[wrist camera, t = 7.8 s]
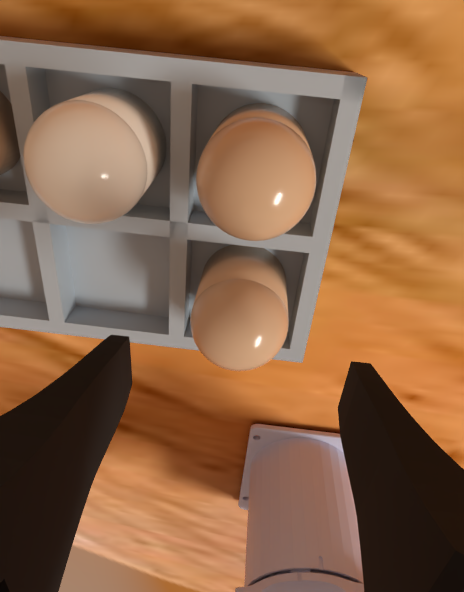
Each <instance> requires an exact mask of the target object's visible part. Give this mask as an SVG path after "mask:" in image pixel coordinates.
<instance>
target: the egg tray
mask: <svg viewBox="0 0 464 592" xmlns="http://www.w3.org/2000/svg"><path fill="white" fill-rule="evenodd" d="M366 81H367V77H365V76H362V75H360V74H358V73H356V72H347V71H337V70H327V69H318V68H308V67H298V66H289V65H279V64H269V63H259V62H250V61H240V60H230V59H220V58H211V57H201V56H191V55H181V54H172V53H162V52H152V51H142V50H133V49H123V48H113V47H103V46H94V45H84V44H74V43H65V42H55V41H45V40H35V39H26V38H16V37H6V36H0V91H1V92H2V93H3V94H4V95H5V96H6V98H7V99H8V100H9V102H10V103H11V104H12V110H13V115H14V121H15V127H16V133H17V138H18V144H19V150H20V155H21V157H20V159H19V161H18V162H17V164H16V165H15V166H14V167H13V168H12V169H11V170H9V171H8V172H6V173H4V174H2V175H0V327H6V328H15V329H23V330H32V331H40V332H48V333H57V334H65V335H74V336H82V337H90V338H99V339H106V338H107V337H108V336H110V335H120V336H129V339H130V342H132V343H141V344H149V345H158V346H166V347H175V348H183V349H191V350H199V349H198V347H197V346H196V344H195V342H194V339H193V336H192V332H191V324H190V318H191V311H192V308H193V304H194V301H195V297H196V294H197V290H198V287H199V283H200V280H201V276H202V273H203V269H204V267H205V264H206V263H207V261H208V259H209V258H210V257H211V256H212V255H213V254H214V253H215V252H217V251H218V250H220V249H222V248H224V247H226V246H229V245H241V246H250V247H259V248H265V249H266V250H268V251H270V252H271V253H272V254H273V255H274V256H275V257H276V258H277V259H278V260H279V261H280V263H281V264H282V266H283V268H284V271H285V275H286V286H287V302H288V318H289V325H288V332H287V336H286V339H285V342H284V344H283V346H282V348H281V349H280V351H279V352H278V353H277V354H276V355H275V356H274V358H272V359H275V360H284V361H292V362H301V363H302V362H303V358H304V354H305V349H306V345H307V340H308V336H309V332H310V327H311V323H312V318H313V314H314V310H315V305H316V301H317V296H318V292H319V288H320V283H321V279H322V274H323V270H324V266H325V261H326V257H327V253H328V248H329V244H330V239H331V235H332V231H333V226H334V222H335V217H336V213H337V209H338V204H339V200H340V195H341V191H342V187H343V182H344V178H345V173H346V169H347V165H348V160H349V156H350V151H351V147H352V143H353V138H354V134H355V129H356V125H357V121H358V116H359V112H360V108H361V103H362V99H363V94H364V90H365V86H366ZM104 88H116V89H121V90H124V91H127V92H130V93H132V94H134V95H136V96H137V97H139V98H140V99H142V100H143V101H144V102H145V103H146V104H148V105H149V107H150V108H151V109H152V110H153V111H154V113H155V114H156V115H157V117H158V119H159V121H160V122H161V125H162V127H163V130H164V133H165V138H166V157H165V162H164V164H163V167H162V169H161V171H160V173H159V174H158V176H157V177H156V178H155V180H154V181H153V182H152V184H151V185H150V186H149V188H148V189H147V190H146V192H145V193H144V194H143V196H142V197H141V198H140V200H139V201H138V202H137V204H136V205H135V206H134V207H133V208H132V209H131V210H130V211H129V212H127V213H126V214H125V215H123V216H121V217H119V218H117V219H115V220H113V221H110V222H106V223H100V224H84V223H79V222H74V221H71V220H68V219H66V218H64V217H62V216H60V215H58V214H56V213H55V212H54V211H52V210H51V209H50V208H48V207H47V206H46V205H45V204H44V203H43V202H42V201H41V200H40V199H39V197H38V196H37V195H36V193H35V192H34V190H33V189H32V187H31V185H30V183H29V181H28V178H27V175H26V172H25V167H24V156H23V155H24V145H25V140H26V137H27V135H28V132H29V130H30V128H31V126H32V124H33V123H34V122H35V121H36V119H37V118H38V117H39V116H40V115H41V114H42V113H43V112H44V111H46V110H47V109H49V108H51V107H52V106H54V105H56V104H59V103H61V102H64V101H67V100H70V99H72V98H75V97H78V96H81V95H84V94H87V93H90V92H92V91H95V90H99V89H104ZM254 103H266V104H271V105H274V106H277V107H280V108H282V109H284V110H285V111H287V112H288V113H290V114H291V115H292V116H293V117H294V118H295V119H296V120H297V121H298V123H299V124H300V125H301V127H302V129H303V131H304V133H305V135H306V138H307V141H308V144H309V147H310V150H311V153H312V156H313V159H314V163H315V169H316V188H315V193H314V197H313V199H312V202H311V204H310V207H309V209H308V210H307V212H306V214H305V215H304V216H303V218H302V219H301V220H300V221H299V222H298V223H297V224H296V225H295V226H294V227H293V228H291V229H290V230H289V231H287V232H286V233H284V234H282V235H280V236H278V237H275V238H272V239H268V240H263V241H248V240H242V239H239V238H235V237H233V236H231V235H229V234H227V233H225V232H224V231H222V230H221V229H220V228H218V227H217V226H216V225H215V224H214V223H213V222H212V221H211V220H210V218H209V217H208V216H207V214H206V213H205V211H204V209H203V207H202V205H201V203H200V200H199V196H198V192H197V185H196V174H197V167H198V163H199V160H200V157H201V154H202V152H203V150H204V148H205V146H206V145H207V143H208V141H209V140H210V138H211V136H212V135H213V133H214V131H215V130H216V128H217V126H218V125H219V124H220V122H221V121H222V120H223V119H224V118H225V117H226V116H227V115H228V114H230V113H231V112H232V111H234V110H236V109H237V108H240V107H242V106H245V105H248V104H254Z"/></svg>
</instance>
